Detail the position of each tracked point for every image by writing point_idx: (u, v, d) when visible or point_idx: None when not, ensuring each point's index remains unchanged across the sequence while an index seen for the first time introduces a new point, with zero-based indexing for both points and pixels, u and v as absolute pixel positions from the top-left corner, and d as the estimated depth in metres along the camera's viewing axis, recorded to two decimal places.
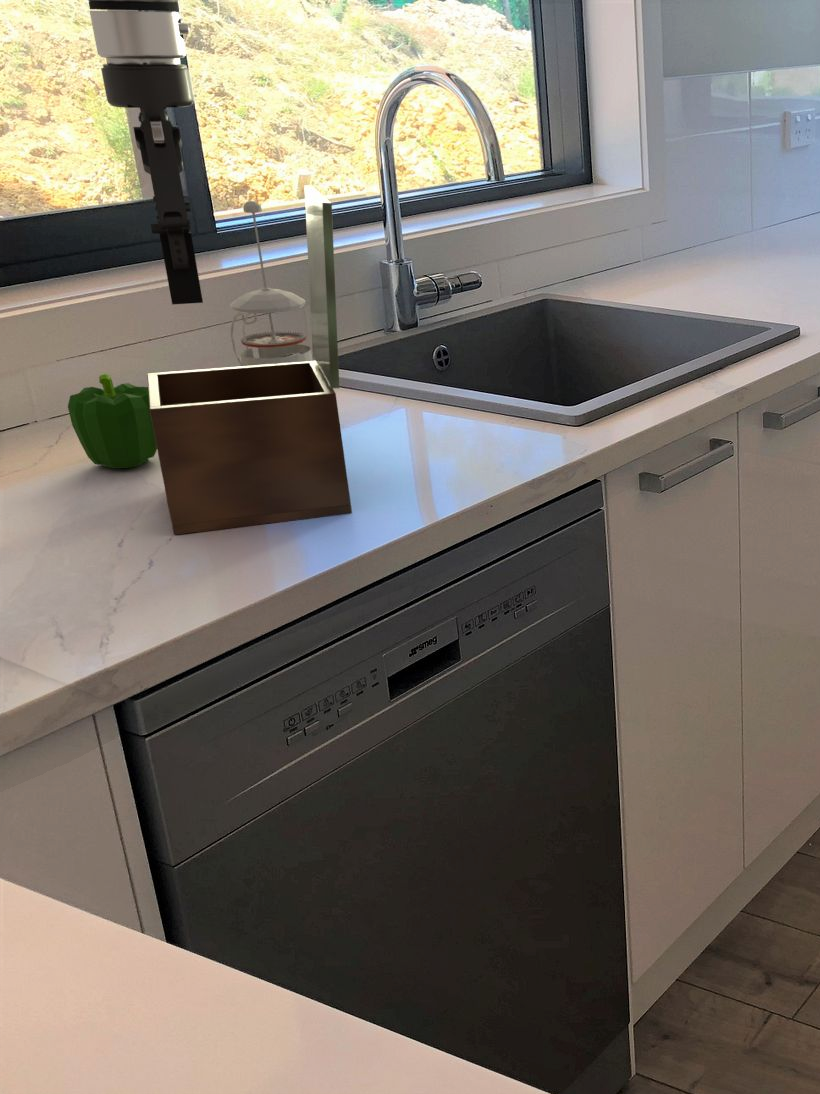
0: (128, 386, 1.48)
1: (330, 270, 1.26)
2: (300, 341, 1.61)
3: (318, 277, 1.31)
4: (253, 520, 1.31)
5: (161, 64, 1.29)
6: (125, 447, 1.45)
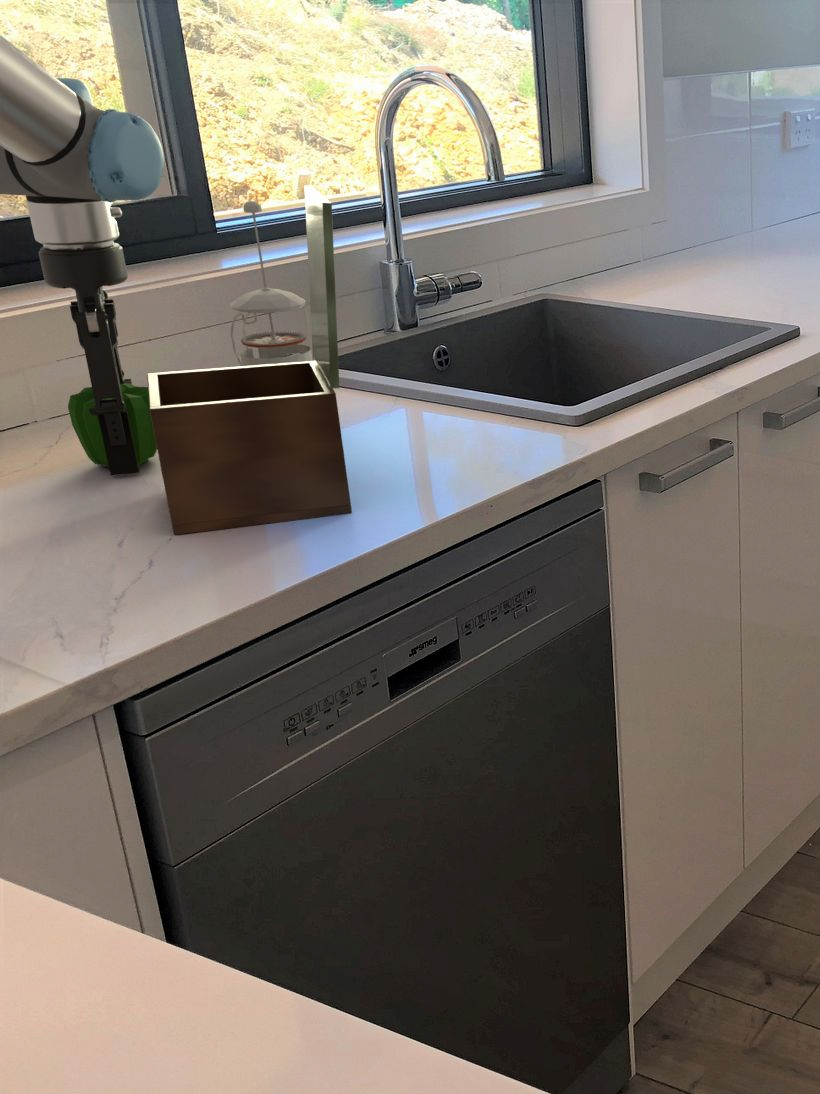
0: (128, 386, 1.48)
1: (330, 270, 1.26)
2: (300, 341, 1.61)
3: (318, 277, 1.31)
4: (253, 520, 1.31)
5: (94, 248, 1.38)
6: None
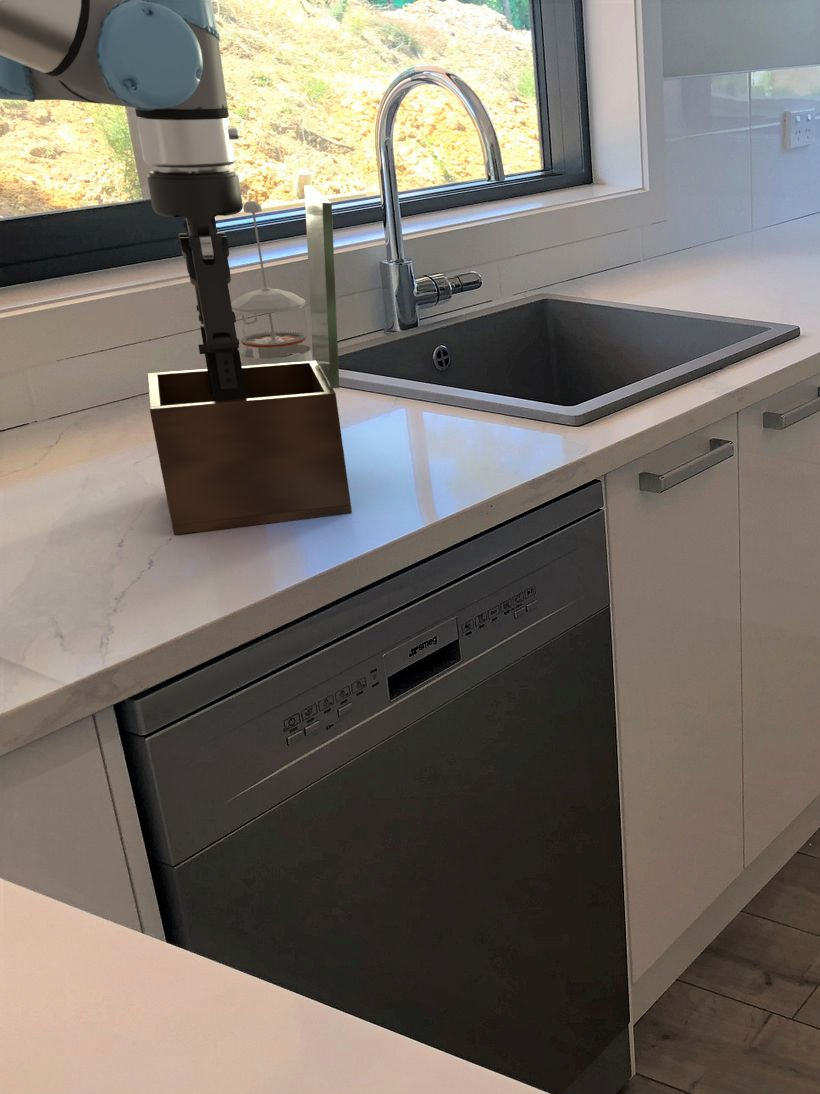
0: None
1: (330, 270, 1.26)
2: (300, 341, 1.61)
3: (318, 277, 1.31)
4: (253, 520, 1.31)
5: (210, 172, 1.23)
6: None
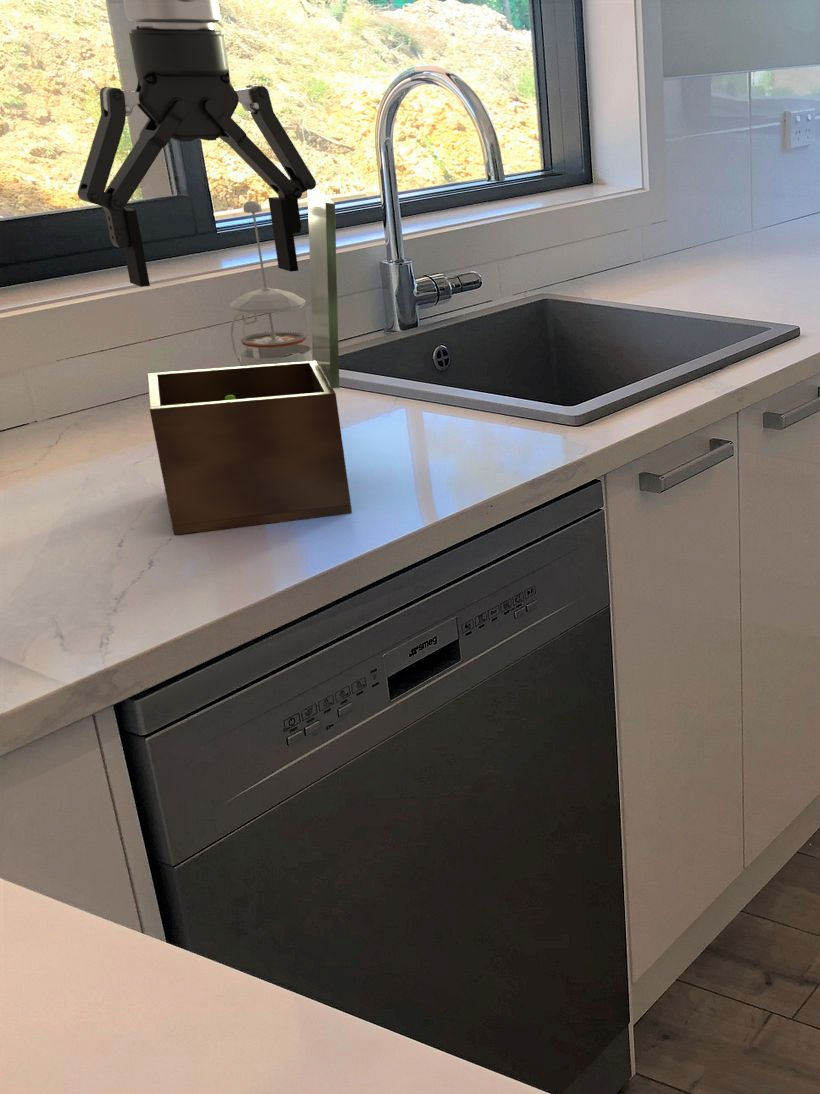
0: None
1: (332, 270, 1.26)
2: (300, 341, 1.61)
3: (320, 277, 1.31)
4: (253, 520, 1.31)
5: (148, 28, 1.18)
6: None
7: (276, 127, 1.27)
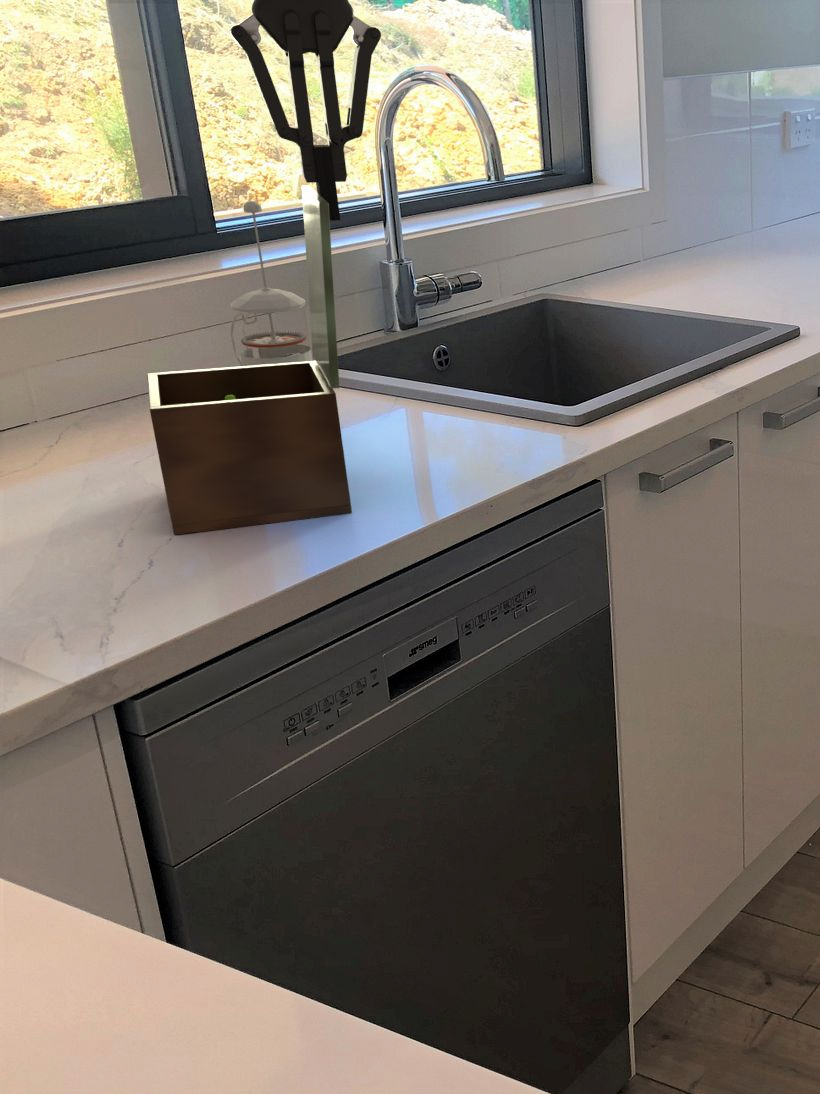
0: None
1: (328, 270, 1.26)
2: (300, 341, 1.61)
3: (316, 277, 1.31)
4: (253, 520, 1.31)
5: None
6: None
7: (363, 67, 1.27)
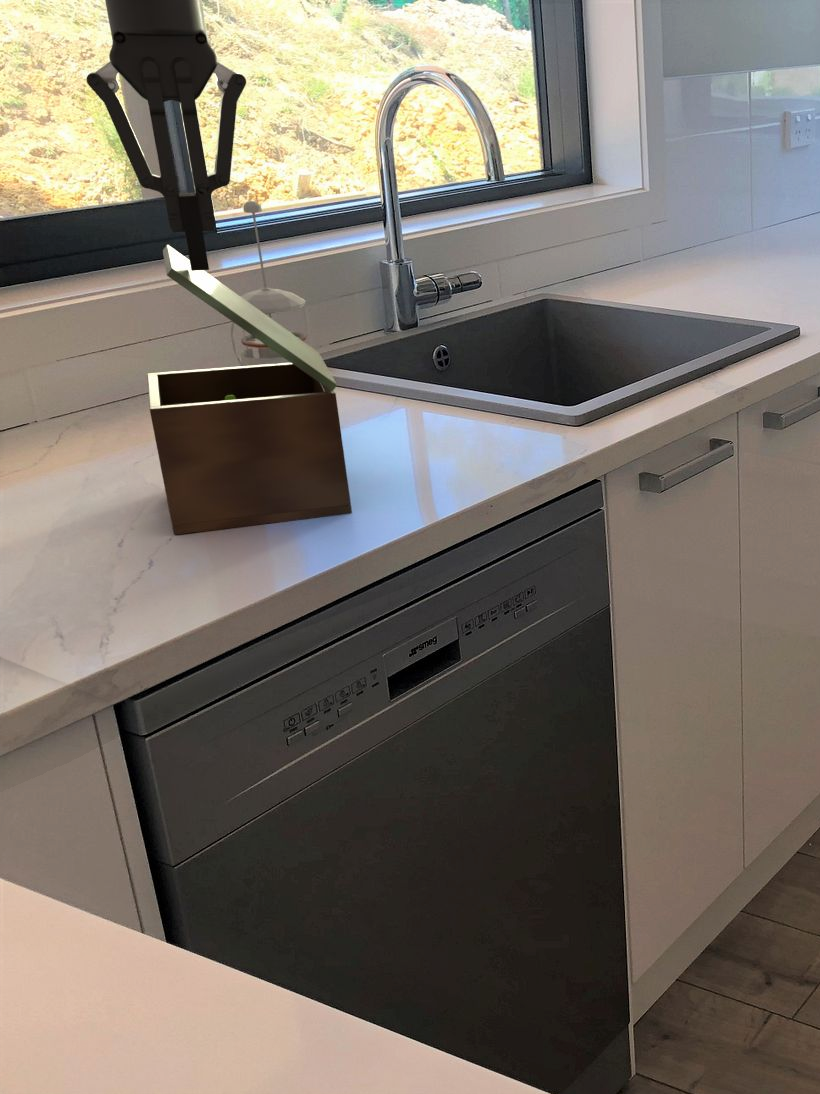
0: None
1: (231, 314, 1.24)
2: None
3: None
4: (253, 520, 1.31)
5: None
6: None
7: (229, 115, 1.23)
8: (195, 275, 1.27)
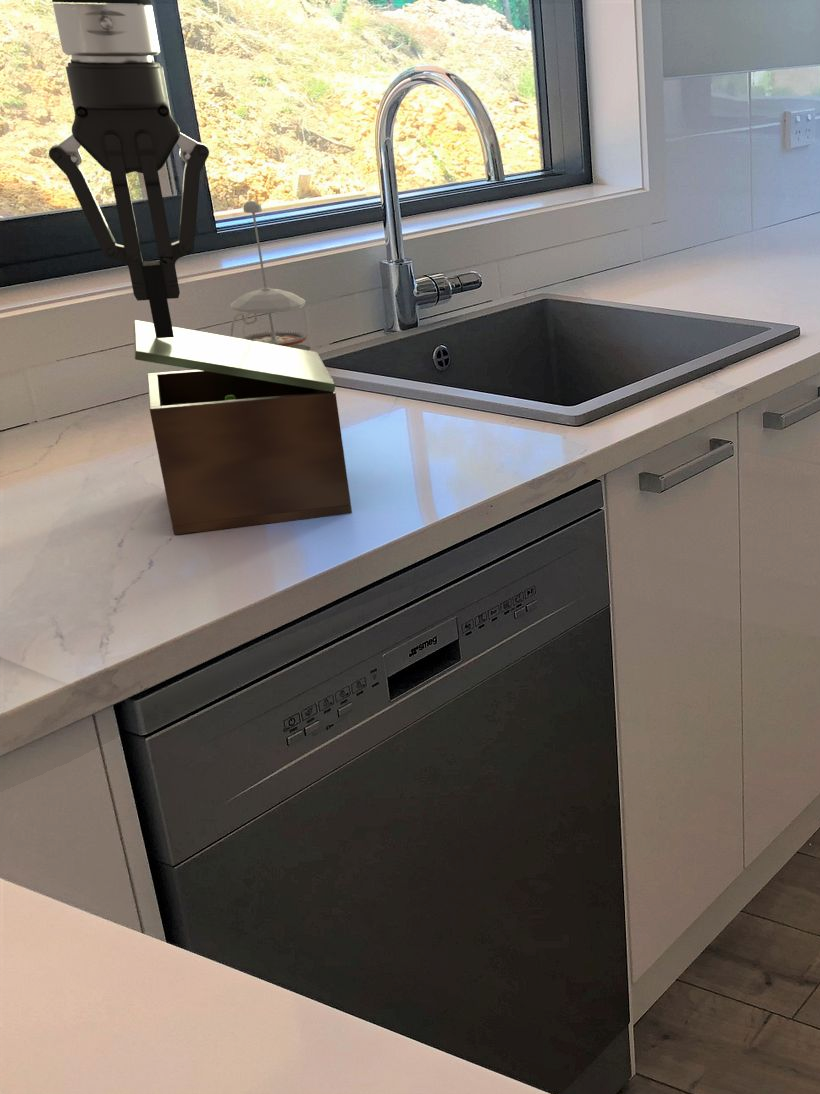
0: None
1: (209, 366, 1.25)
2: (300, 341, 1.61)
3: None
4: (253, 520, 1.31)
5: (76, 61, 1.17)
6: None
7: (192, 185, 1.24)
8: (165, 341, 1.28)
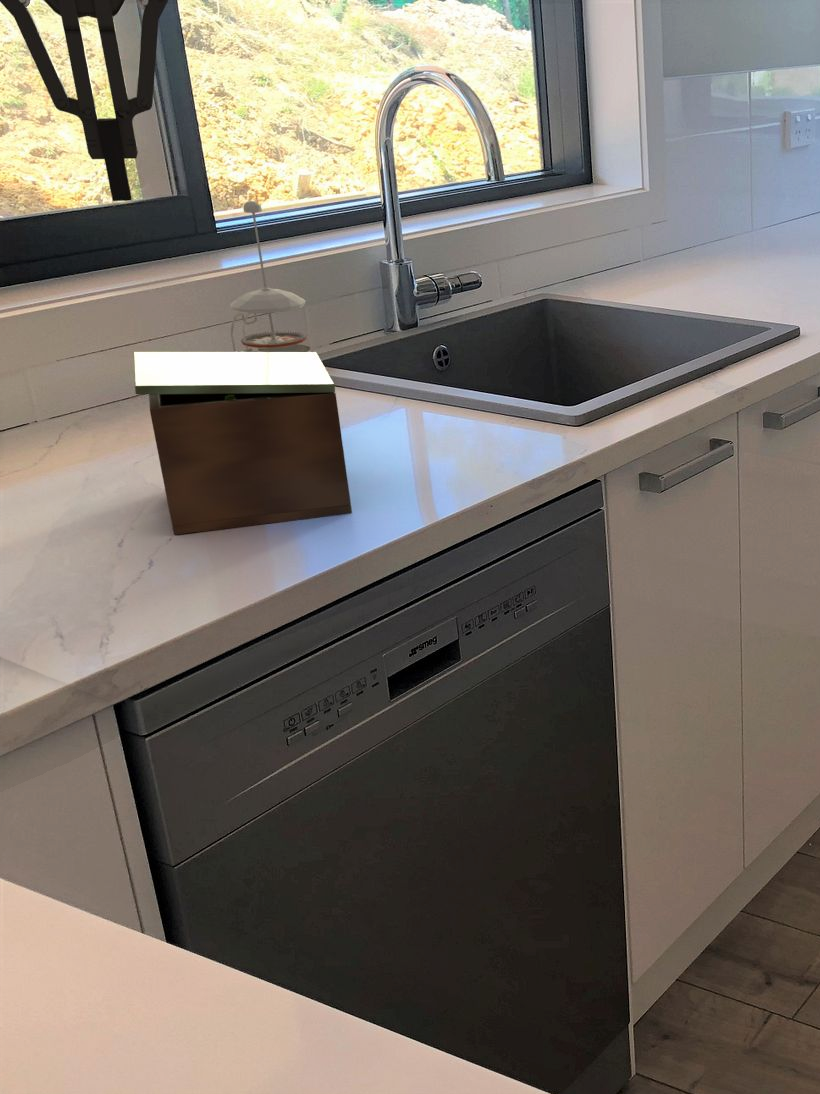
0: None
1: (208, 389, 1.25)
2: (300, 341, 1.61)
3: None
4: (253, 520, 1.31)
5: None
6: None
7: (150, 33, 1.16)
8: (164, 370, 1.29)
